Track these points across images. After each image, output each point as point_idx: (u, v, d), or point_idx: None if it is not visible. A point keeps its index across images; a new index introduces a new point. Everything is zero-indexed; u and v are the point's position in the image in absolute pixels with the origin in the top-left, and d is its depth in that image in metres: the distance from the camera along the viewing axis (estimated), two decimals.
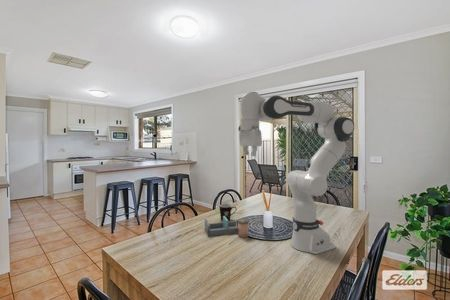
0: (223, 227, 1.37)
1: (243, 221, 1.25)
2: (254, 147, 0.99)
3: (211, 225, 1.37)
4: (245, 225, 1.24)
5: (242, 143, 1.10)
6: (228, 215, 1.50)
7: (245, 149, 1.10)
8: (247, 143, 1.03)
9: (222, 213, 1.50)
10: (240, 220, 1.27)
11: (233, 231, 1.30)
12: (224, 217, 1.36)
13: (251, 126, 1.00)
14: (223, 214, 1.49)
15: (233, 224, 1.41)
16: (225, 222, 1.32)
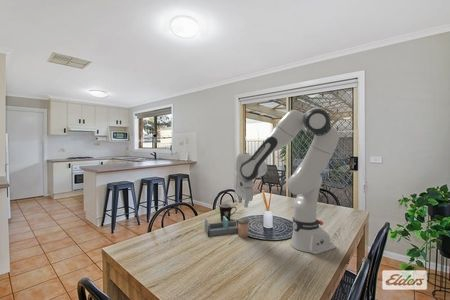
0: (223, 227, 1.37)
1: (243, 221, 1.25)
2: None
3: (211, 225, 1.37)
4: (245, 225, 1.24)
5: None
6: (228, 215, 1.50)
7: None
8: None
9: (222, 213, 1.50)
10: (240, 220, 1.27)
11: (233, 231, 1.30)
12: (224, 217, 1.36)
13: None
14: (223, 214, 1.49)
15: (233, 224, 1.41)
16: (225, 222, 1.32)
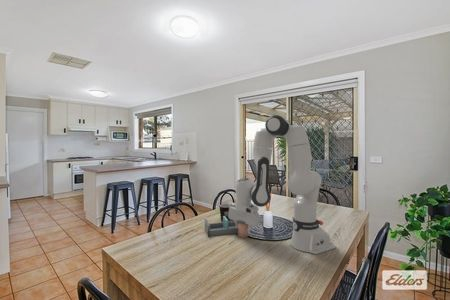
0: (223, 227, 1.37)
1: None
2: None
3: (211, 225, 1.37)
4: (245, 225, 1.24)
5: None
6: None
7: None
8: None
9: (222, 213, 1.50)
10: None
11: (233, 231, 1.30)
12: (224, 217, 1.36)
13: None
14: (223, 214, 1.49)
15: (233, 224, 1.41)
16: (225, 222, 1.32)
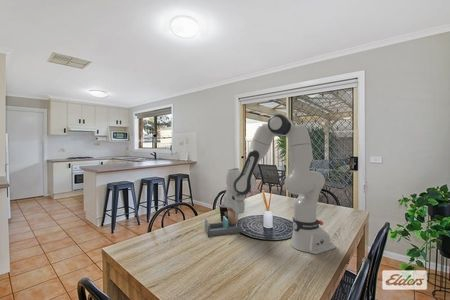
0: (223, 227, 1.37)
1: None
2: None
3: (211, 225, 1.37)
4: (233, 212, 1.33)
5: None
6: None
7: None
8: None
9: (222, 213, 1.50)
10: None
11: (233, 231, 1.30)
12: (224, 217, 1.36)
13: None
14: (223, 214, 1.49)
15: (233, 224, 1.41)
16: (225, 222, 1.32)
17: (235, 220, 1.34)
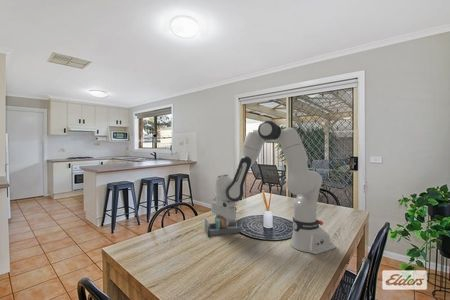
0: None
1: None
2: None
3: (211, 225, 1.37)
4: (223, 219, 1.31)
5: None
6: None
7: None
8: None
9: None
10: None
11: (233, 231, 1.30)
12: (216, 218, 1.35)
13: None
14: None
15: (233, 224, 1.41)
16: (217, 223, 1.31)
17: (226, 227, 1.32)
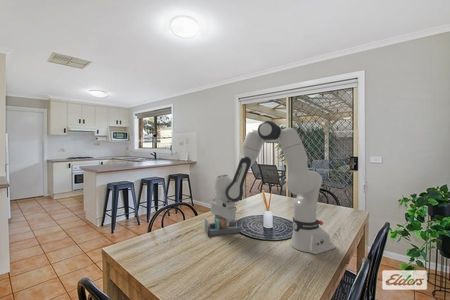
0: (215, 228, 1.36)
1: None
2: None
3: (211, 225, 1.37)
4: (223, 220, 1.31)
5: None
6: None
7: None
8: None
9: None
10: None
11: (233, 231, 1.30)
12: (215, 218, 1.34)
13: None
14: None
15: (233, 224, 1.41)
16: (216, 223, 1.31)
17: None
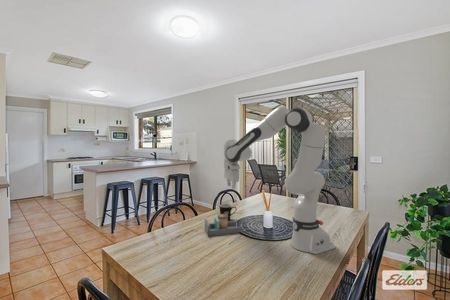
0: None
1: (222, 216, 1.32)
2: None
3: (211, 225, 1.37)
4: (223, 220, 1.31)
5: None
6: (228, 215, 1.50)
7: None
8: None
9: (222, 213, 1.50)
10: (220, 215, 1.34)
11: (233, 231, 1.30)
12: (215, 218, 1.34)
13: None
14: None
15: (233, 224, 1.41)
16: (216, 223, 1.31)
17: None
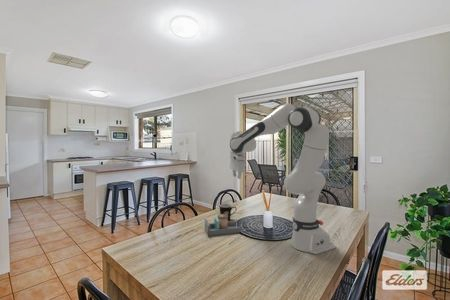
0: None
1: (222, 216, 1.32)
2: None
3: (211, 225, 1.37)
4: (223, 220, 1.31)
5: None
6: (228, 215, 1.50)
7: None
8: None
9: (222, 213, 1.50)
10: (220, 215, 1.34)
11: (233, 231, 1.30)
12: (215, 218, 1.34)
13: None
14: None
15: (233, 224, 1.41)
16: (216, 223, 1.31)
17: None
